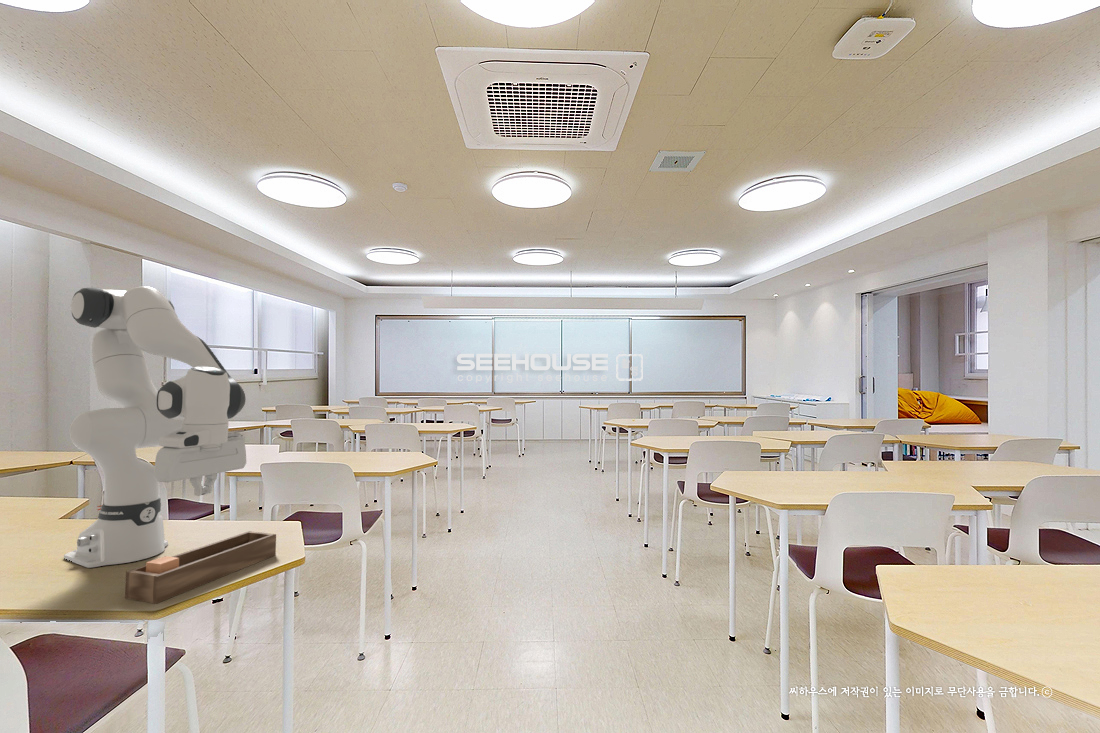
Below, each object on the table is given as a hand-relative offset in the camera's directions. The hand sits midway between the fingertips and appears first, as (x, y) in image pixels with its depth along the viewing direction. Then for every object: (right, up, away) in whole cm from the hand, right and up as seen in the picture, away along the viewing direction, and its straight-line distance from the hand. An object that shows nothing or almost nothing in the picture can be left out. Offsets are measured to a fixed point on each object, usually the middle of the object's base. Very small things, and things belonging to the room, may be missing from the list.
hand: (202, 494), depth 115 cm
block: (-2, -16, -9) cm, 18 cm away
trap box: (+1, -19, +1) cm, 19 cm away
